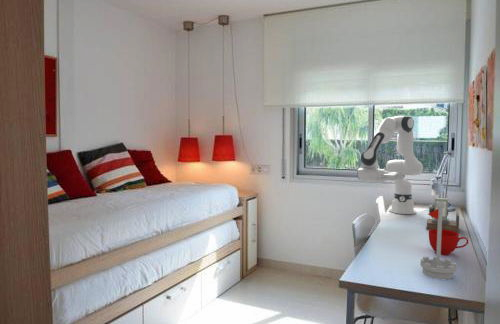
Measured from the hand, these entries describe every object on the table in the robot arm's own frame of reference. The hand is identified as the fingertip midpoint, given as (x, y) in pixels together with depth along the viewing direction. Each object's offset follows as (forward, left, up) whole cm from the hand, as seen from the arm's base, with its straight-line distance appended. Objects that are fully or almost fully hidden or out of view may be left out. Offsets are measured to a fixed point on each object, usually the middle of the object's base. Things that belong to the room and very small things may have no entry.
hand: (404, 176), depth 243 cm
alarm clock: (-13, +21, -30) cm, 39 cm away
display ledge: (+7, +23, -30) cm, 38 cm away
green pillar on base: (+7, +22, -26) cm, 35 cm away
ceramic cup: (+61, +25, -30) cm, 73 cm away
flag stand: (+94, +21, -30) cm, 101 cm away
